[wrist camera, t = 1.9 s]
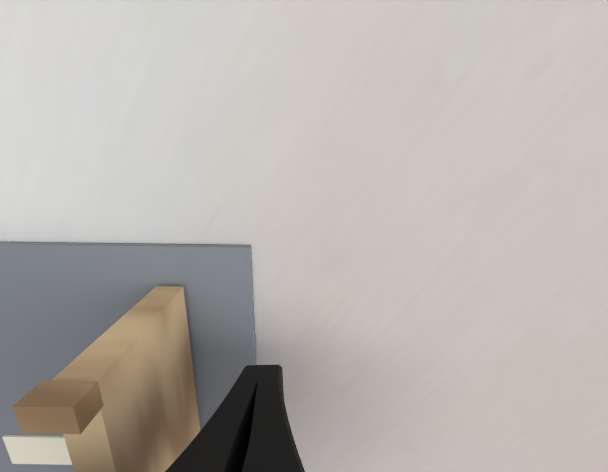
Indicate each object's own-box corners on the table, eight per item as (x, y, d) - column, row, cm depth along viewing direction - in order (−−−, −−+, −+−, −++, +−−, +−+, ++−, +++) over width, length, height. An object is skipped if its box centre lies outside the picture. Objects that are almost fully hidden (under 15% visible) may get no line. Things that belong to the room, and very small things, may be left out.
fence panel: (203, 441, 15) (135, 633, 9) (177, 441, 15) (91, 632, 9) (185, 284, 13) (73, 407, 7) (153, 284, 13) (12, 406, 7)
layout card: (264, 548, 19) (263, 559, 18) (21, 544, 19) (14, 554, 18) (250, 245, 13) (248, 248, 12) (-103, 240, 13) (-119, 243, 12)
